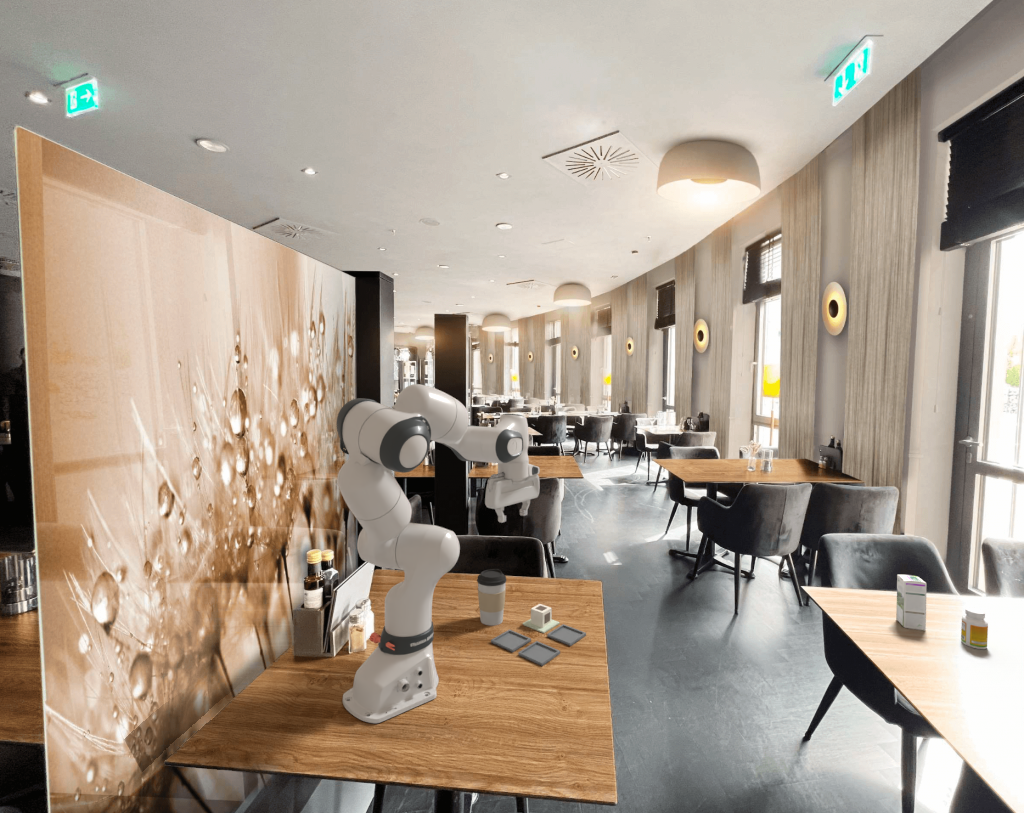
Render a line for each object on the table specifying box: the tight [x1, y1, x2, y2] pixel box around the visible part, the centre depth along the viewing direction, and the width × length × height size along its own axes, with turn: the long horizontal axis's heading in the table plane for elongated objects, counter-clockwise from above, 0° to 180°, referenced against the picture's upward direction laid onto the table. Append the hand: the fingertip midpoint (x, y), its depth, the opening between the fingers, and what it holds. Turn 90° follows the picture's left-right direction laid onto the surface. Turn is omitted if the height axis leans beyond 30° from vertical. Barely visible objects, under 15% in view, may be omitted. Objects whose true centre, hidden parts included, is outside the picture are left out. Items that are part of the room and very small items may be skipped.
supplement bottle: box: [960, 607, 989, 650], centre depth 139 cm, size 5×5×10 cm
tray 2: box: [517, 640, 561, 667], centre depth 133 cm, size 8×8×1 cm
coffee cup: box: [476, 568, 507, 627], centre depth 153 cm, size 9×9×15 cm
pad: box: [522, 618, 560, 634], centre depth 151 cm, size 8×8×1 cm
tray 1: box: [490, 629, 532, 654], centre depth 140 cm, size 8×8×1 cm
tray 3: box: [546, 623, 587, 647], centre depth 143 cm, size 8×8×1 cm
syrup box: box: [895, 574, 927, 631], centre depth 151 cm, size 6×6×14 cm
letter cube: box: [530, 603, 553, 628], centre depth 150 cm, size 4×5×5 cm
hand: (513, 518), depth 142 cm, fingers open, 8 cm apart
